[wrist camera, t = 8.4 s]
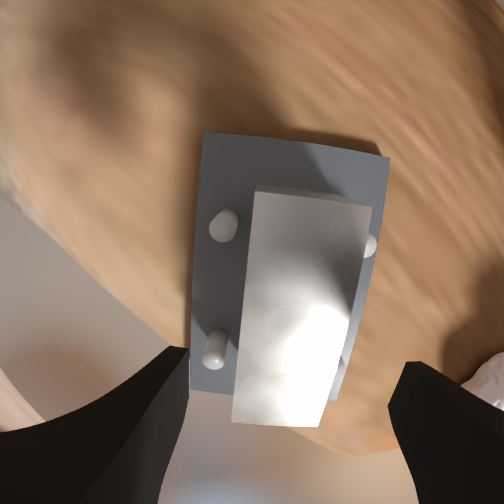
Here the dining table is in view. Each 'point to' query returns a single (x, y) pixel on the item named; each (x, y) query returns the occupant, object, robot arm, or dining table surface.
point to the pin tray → (239, 228)
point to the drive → (296, 302)
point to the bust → (489, 381)
